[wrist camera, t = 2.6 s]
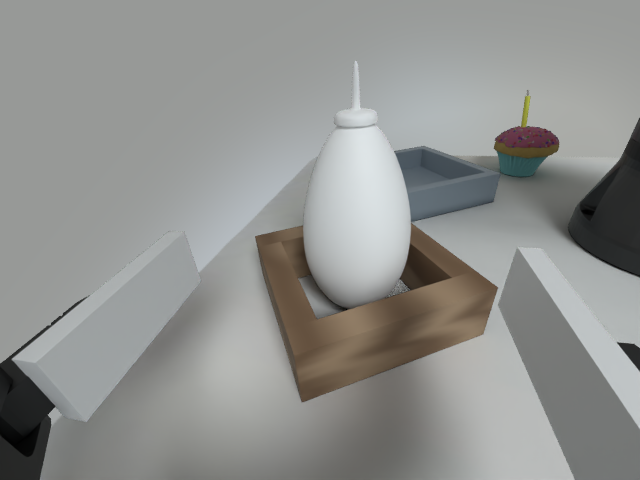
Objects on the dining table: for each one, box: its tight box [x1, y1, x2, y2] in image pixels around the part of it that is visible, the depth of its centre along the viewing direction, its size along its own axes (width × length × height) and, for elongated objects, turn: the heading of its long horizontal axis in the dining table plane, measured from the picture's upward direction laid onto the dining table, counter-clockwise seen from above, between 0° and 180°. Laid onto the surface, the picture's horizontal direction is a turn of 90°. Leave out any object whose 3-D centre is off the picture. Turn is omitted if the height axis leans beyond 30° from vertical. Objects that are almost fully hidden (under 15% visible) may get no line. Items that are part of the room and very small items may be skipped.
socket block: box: [255, 223, 498, 402], centre depth 25 cm, size 14×14×4 cm
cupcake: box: [494, 90, 559, 177], centre depth 46 cm, size 9×8×12 cm
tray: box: [394, 146, 501, 222], centre depth 44 cm, size 16×16×4 cm
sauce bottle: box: [303, 60, 411, 309], centre depth 21 cm, size 8×8×18 cm
